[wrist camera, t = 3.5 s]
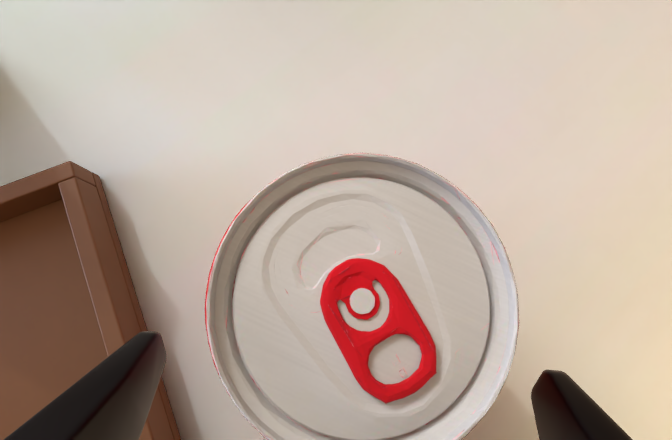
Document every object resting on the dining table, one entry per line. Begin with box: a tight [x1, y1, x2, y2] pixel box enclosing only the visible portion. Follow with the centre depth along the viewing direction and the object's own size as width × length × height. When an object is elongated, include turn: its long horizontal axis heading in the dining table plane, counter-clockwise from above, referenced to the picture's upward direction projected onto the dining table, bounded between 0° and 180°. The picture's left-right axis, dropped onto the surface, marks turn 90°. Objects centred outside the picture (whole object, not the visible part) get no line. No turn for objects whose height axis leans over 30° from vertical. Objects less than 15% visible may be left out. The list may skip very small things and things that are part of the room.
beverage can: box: [205, 153, 519, 440], centre depth 12 cm, size 6×6×12 cm
